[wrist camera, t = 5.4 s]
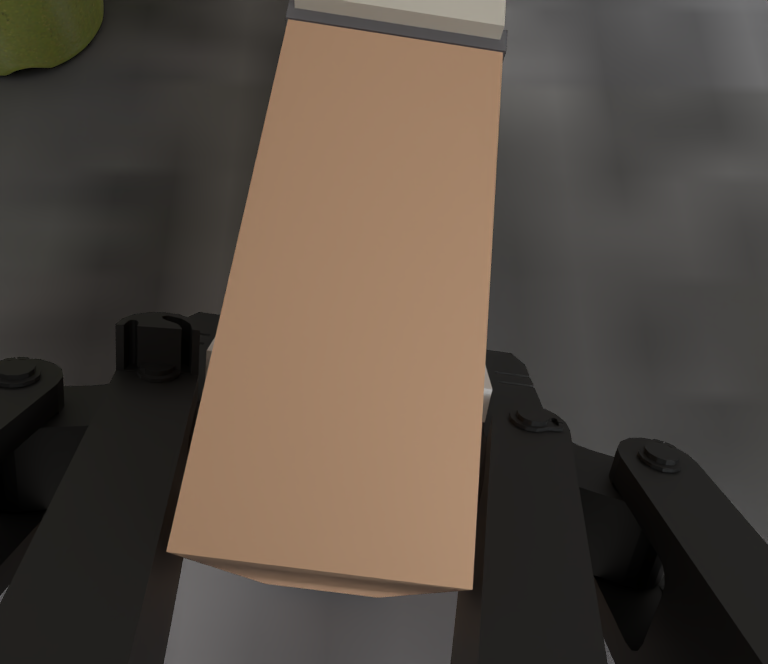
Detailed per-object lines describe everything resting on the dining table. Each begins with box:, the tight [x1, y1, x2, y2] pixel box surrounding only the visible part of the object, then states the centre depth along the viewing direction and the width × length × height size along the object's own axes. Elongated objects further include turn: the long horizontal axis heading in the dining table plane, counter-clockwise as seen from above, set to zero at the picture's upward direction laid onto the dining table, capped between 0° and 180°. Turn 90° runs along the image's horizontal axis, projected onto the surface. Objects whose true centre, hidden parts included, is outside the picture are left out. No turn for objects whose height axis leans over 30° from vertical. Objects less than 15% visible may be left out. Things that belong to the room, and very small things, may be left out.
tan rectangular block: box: [166, 19, 503, 598], centre depth 13 cm, size 3×7×12 cm, turn 174°
